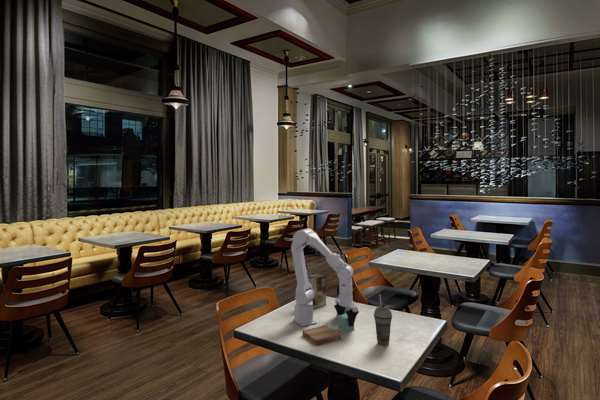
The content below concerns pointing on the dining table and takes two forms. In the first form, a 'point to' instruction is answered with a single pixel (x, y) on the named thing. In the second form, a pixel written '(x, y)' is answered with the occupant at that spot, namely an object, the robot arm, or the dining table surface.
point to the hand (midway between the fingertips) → (346, 323)
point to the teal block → (344, 323)
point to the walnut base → (322, 335)
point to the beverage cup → (383, 324)
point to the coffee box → (318, 289)
